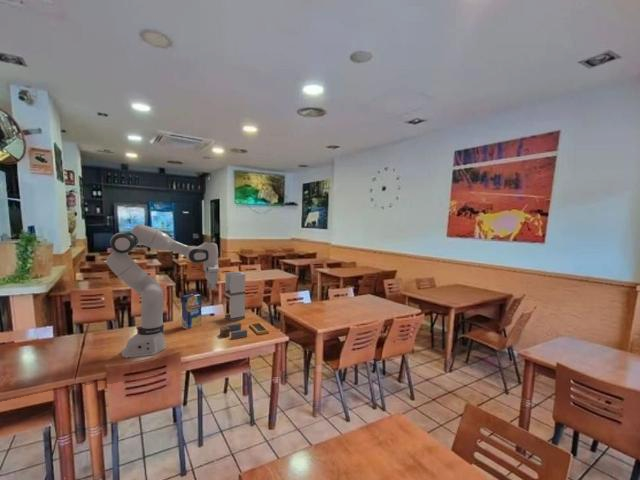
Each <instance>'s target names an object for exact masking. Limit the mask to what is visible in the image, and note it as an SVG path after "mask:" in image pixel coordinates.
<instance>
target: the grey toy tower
mask: <svg viewBox="0 0 640 480" xmlns="http://www.w3.org/2000/svg"><path fill="white" fill-rule="evenodd" d="M224 279H225V281H224V282H225V284H224V285H225V286H224V287H225V289H224V291H225V293H224V294H225V296H226V297H228V298H229V309H230V310H229V311H230V312H229V313H228V314H225V315H224V318H226V319H227V320H228V319H229V320H228V321H230V322H234V321H238V320H245V317H246V273H244V272H241V271H233V272H225V278H224Z"/></svg>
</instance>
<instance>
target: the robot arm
mask: <svg viewBox="0 0 640 480" xmlns="http://www.w3.org/2000/svg"><path fill="white" fill-rule="evenodd" d="M109 244H110V248H111V249H112V251H111V253H110V254H109V255H107V257H106V260H105V263H106V265H107V266H108V267H109V269H110V270H111V272H113V274H115V275H116V276H117V277H118V278H119V279H120V280H121V281H122V282H124V283H125V285H127V286H128V287H130V288H131V289H133V290H134V291H135V292H137V294H139V295H140V297H141V299H140V301H141V302H140V303H141V305H140V306H141V307H140V308H141V310H140V311H141V312H140V313H141V316H140V317H141V318H140V321H141V323H140V324H141V325H136V330H137V331H136V334H134V335H133V336H131V338H129V339H128V341H127V343H126V345H125V346H126V347H124V348H123V349H122V350H121V353H120V354H121V357H122V356H123V358H124V357H125V359H126V358H127V359H128V357H129V358H137V357H146V356H153V355H157V353H159V352H161V351H163V350H165V349H166V347H167V345H166V342H165V337H164V333H165V326H164V322H163V321H164V315H163V312H164V311H163V310H164V291H163V288H162V286H161V284H160V283H159V282H157V281H156V280H155V279H154V278H153V277H152V276H151V275H149V274H148V273H147V272H146V271H145V270H144V269H143V268H142V267H141V266H139V264H138V263H137V262H136V261H134V260H133V259H132V257H130V255H129V252H130V251H132V250H133V249H134V248H135V247H136V246H137V245H142V246H145V247H148V248H149V249H150V248H151V249H153V250H158V251H164V250H165V251H166V250H167V251H173V252H175V253H177V254H180V255H182V256H184V257H185V258H186V259H187V260H189V261H190V262H191V263H192V264H199V263H203V270H204V273H205V274H204V275H205V279H206V280H207V287H208V288H210V289H211V291H215V288H216V285H217V284H218V283H219V282H218V281H219V272H220V268H219V260H218V259H219V258H218V257H219V249H218V244H217V243H216V242H213V241H204V242H203V243H202V244H200V245H187V244H184V243H181V242H179V241H177V240H174V239H173V238H172V237H171V236H169V234H167V233H165V232H163V231H162V230H160V229H158V228H157V229H156V228H155V227H152V226H148V225H145V224H137V225H135V226H133V228H132V229H131V231H130V232H123V231H121V232H116V233H115V234H113V235H112V236H111V238H110V240H109Z"/></svg>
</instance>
